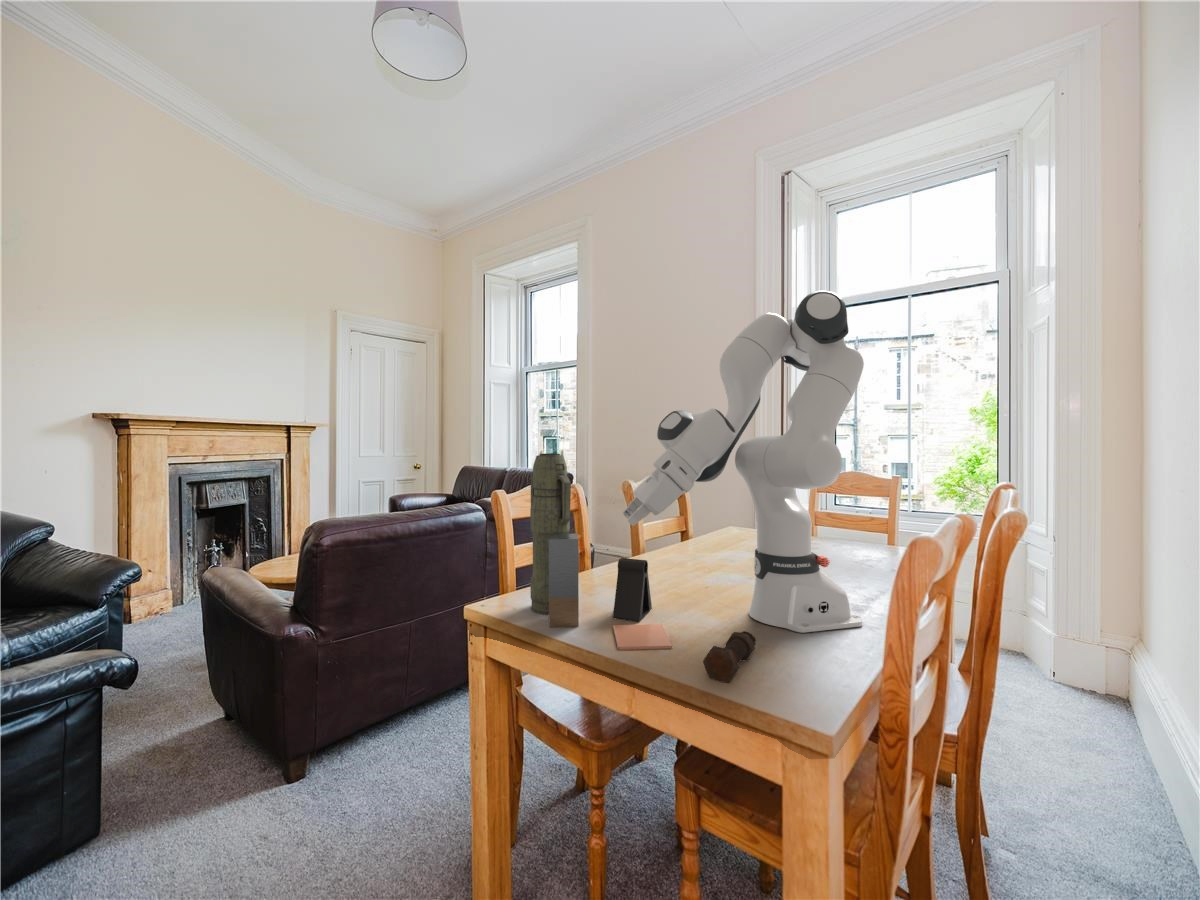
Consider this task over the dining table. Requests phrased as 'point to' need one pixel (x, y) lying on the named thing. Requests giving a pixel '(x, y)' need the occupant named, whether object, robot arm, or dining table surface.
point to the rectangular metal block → (563, 580)
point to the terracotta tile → (641, 637)
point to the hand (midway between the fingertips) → (627, 519)
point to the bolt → (729, 656)
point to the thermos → (547, 520)
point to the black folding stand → (632, 590)
